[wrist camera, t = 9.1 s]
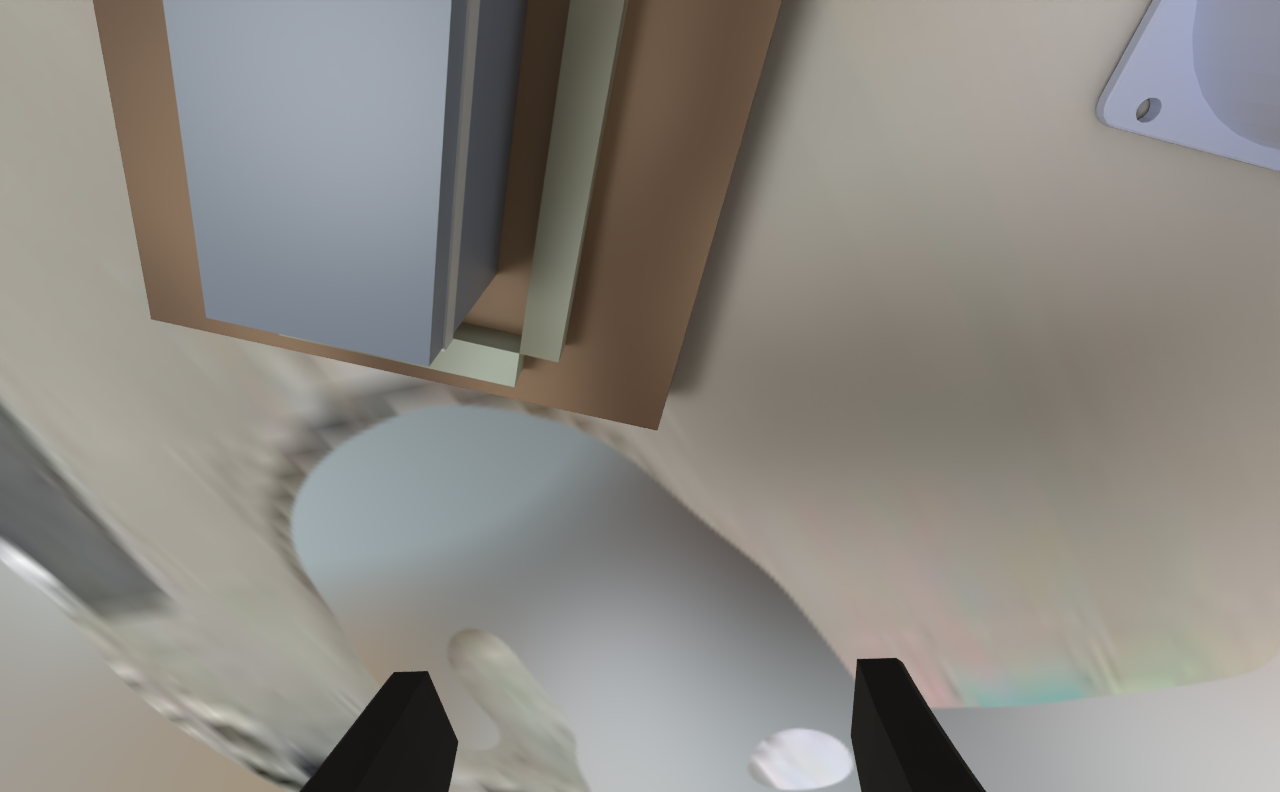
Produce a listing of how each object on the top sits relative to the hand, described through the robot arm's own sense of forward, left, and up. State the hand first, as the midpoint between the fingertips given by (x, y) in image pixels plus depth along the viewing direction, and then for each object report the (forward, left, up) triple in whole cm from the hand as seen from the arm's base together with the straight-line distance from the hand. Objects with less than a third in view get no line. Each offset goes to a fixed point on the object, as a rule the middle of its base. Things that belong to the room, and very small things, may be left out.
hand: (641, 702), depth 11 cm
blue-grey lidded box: (+7, -8, -8) cm, 13 cm away
